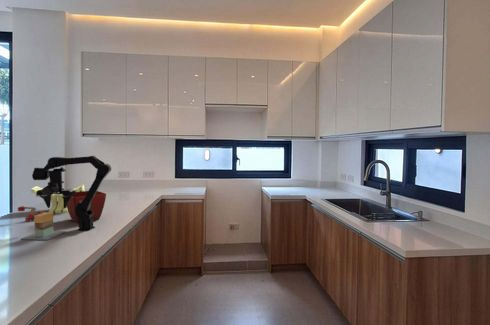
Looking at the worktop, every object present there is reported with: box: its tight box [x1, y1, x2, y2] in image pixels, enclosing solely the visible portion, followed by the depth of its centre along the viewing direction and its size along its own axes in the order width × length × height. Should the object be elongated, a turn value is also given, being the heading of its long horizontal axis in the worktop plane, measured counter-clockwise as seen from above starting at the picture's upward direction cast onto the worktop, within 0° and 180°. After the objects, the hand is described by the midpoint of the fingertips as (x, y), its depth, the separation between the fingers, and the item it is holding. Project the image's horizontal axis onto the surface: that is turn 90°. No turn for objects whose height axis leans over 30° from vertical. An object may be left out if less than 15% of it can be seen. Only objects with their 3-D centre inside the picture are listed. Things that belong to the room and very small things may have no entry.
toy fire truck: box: [17, 205, 45, 222], centre depth 184 cm, size 3×14×10 cm, turn 141°
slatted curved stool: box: [30, 183, 86, 214], centre depth 212 cm, size 30×16×18 cm, turn 113°
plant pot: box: [67, 190, 107, 224], centre depth 188 cm, size 19×19×17 cm
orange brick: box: [33, 212, 54, 224], centre depth 154 cm, size 4×7×4 cm, turn 172°
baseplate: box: [20, 226, 67, 242], centre depth 155 cm, size 14×14×4 cm
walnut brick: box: [34, 219, 54, 231], centre depth 154 cm, size 4×7×4 cm, turn 176°
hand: (56, 208), depth 163 cm, fingers open, 9 cm apart
